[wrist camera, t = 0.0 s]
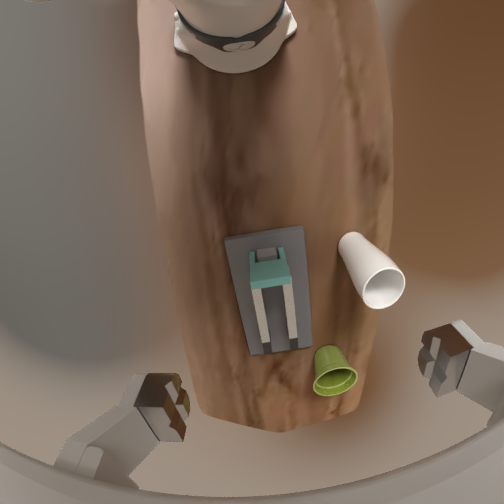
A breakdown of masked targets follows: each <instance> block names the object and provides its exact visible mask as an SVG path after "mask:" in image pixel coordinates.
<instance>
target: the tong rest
mask: <svg viewBox="0 0 504 504" xmlns="http://www.w3.org/2000/svg"><path fill="white" fill-rule="evenodd" d="M224 243H225V248H226V253H227V257H228V262H229V266H230V270H231V275H232V279H233V284H234V288H235V292H236V297H237V301H238V305H239V310H240V314H241V318H242V322H243V326H244V331H245V335H246V339H247V343H248V347H249V351H250V355H257V354H264V351H263V346H262V340H261V335H260V330H259V325H258V320H257V315H256V310H255V305H254V300H253V295H252V290H251V285H250V264H249V252H254V253H255V259H256V263H258V262H265V261H271V260H277V259H280V258H279V251H278V248H280V247H283V249H284V253H285V257H286V262H287V265H288V266H289V270H290V274H291V279H292V288H293V297H294V306H295V316H296V326H297V337H298V347H299V348H305V347H310V346H312V326H311V310H310V295H309V282H308V269H307V258H306V247H305V237H304V228H303V226H302V225H300V226H293V227H286V228H280V229H273V230H267V231H260V232H254V233H248V234H241V235H235V236H229V237H225V238H224ZM262 291H263V297H264V302H265V308H266V314H267V320H268V325H269V331H270V337H271V345H272V352H279V351H286V350H291V349H290V343H289V337H288V330H287V321H286V313H285V305H284V297H283V290H282V285H280V286H273V287H266V288H262Z"/></svg>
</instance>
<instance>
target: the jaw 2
mask: <svg viewBox="0 0 504 504" xmlns="http://www.w3.org/2000/svg"><path fill="white" fill-rule="evenodd" d="M288 269H289V266H288ZM289 273H290V270H289ZM290 278H291V274H290ZM282 290H283V297H284V305H285V313H286V321H287V330H288V337H289V343H290V349H291V350H297V349H299V347H298V337H297V326H296V316H295V306H294V297H293V288H292V279H291V284H286V285H282Z"/></svg>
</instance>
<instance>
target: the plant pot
mask: <svg viewBox="0 0 504 504" xmlns="http://www.w3.org/2000/svg"><path fill="white" fill-rule="evenodd" d="M314 364H315V379H314V383H313V389H314V391H315V392H316V393H317V394H319V395H322V396H333V395H338V394H341V393H343V392H345V391H347V390H348V389H350V388H351V387H352V386H353V385H354V384H355V383H356V381H357V378H358V375H357V372H356V371H355V370H354V369H353V368H352V367H351V366H350V365H349V364H348V362H347V361H346V359H345V357H344V356H343V354H342V352H341V350H340V349H339V348H338V347H337V346H330V345H326V346H323V347H321V348H320V349H318V350H317V351H316V353H315V356H314Z"/></svg>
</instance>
